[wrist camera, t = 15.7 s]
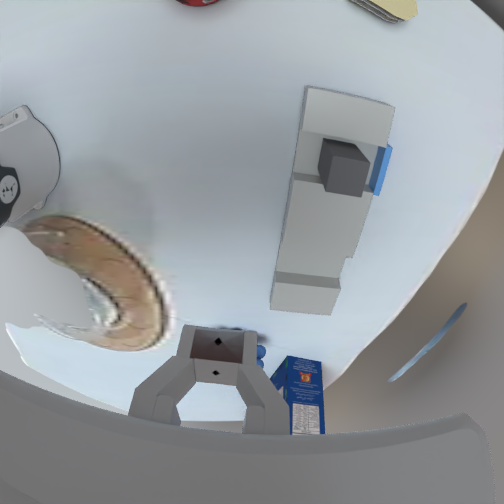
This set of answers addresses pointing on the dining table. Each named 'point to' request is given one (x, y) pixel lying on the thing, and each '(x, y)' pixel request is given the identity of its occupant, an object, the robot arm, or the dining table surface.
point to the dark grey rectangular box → (342, 168)
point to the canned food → (196, 2)
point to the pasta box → (302, 394)
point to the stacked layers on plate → (391, 9)
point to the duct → (327, 200)
